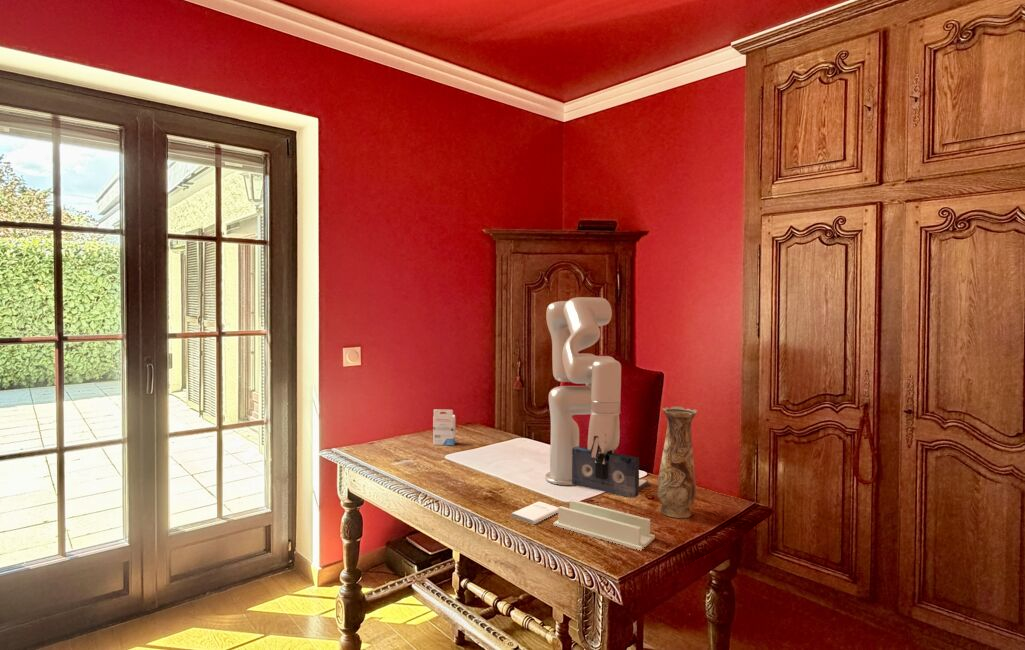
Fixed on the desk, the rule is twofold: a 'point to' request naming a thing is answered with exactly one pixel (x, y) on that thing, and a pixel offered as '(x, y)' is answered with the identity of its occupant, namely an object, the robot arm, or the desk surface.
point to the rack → (605, 524)
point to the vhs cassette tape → (618, 478)
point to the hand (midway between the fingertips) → (604, 476)
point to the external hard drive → (535, 512)
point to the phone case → (640, 484)
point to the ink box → (443, 427)
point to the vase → (677, 464)
